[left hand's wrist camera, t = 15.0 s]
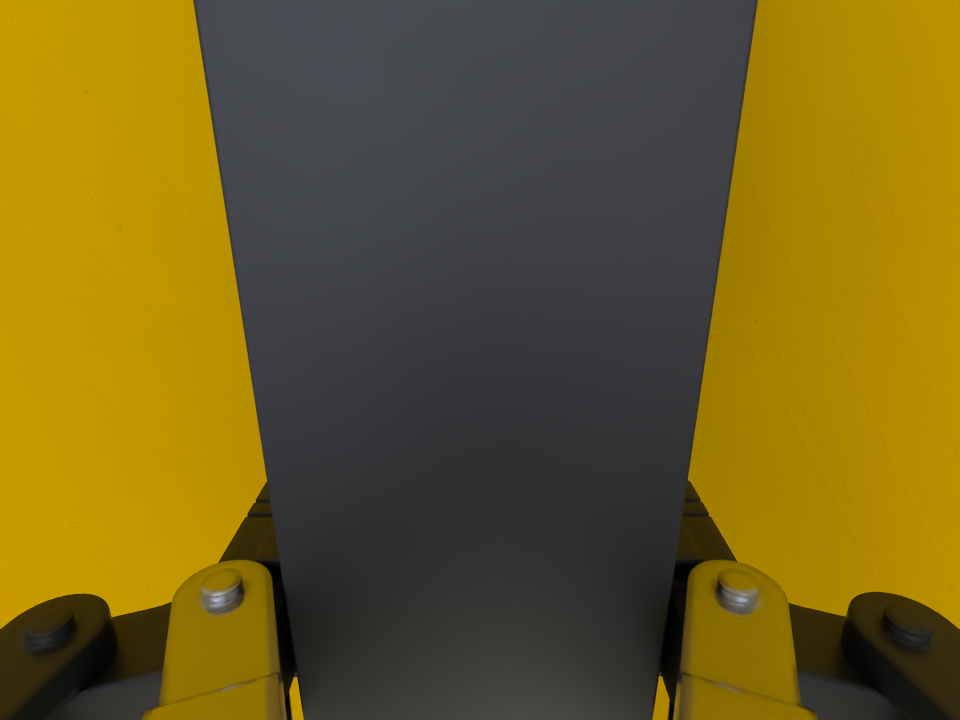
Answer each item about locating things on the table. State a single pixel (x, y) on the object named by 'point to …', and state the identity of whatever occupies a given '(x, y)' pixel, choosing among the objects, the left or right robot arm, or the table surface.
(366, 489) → the bar
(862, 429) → the table surface
